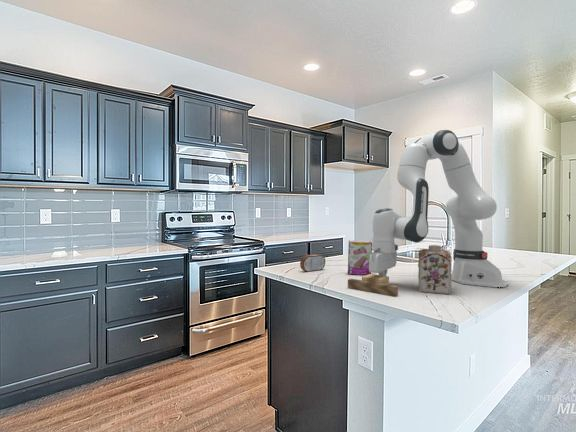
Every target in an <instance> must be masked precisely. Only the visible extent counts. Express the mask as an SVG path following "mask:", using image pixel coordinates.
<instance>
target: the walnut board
mask: <svg viewBox="0 0 576 432" xmlns="http://www.w3.org/2000/svg"><path fill="white" fill-rule="evenodd" d="M347 289H352V290H357V291H362V292H363V291H364V292H367V293H373V294H379V295H384V296H388V297H389V296H390V297H395V298H396V297H398V295H399V286H398V285H393V284H389V285H388V284H382V283H376V282H370V281H363V280H362V279H358V278H357V279H356V278H348V279H347Z"/></svg>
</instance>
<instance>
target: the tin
mask: <svg viewBox="0 0 576 432" xmlns="http://www.w3.org/2000/svg"><path fill="white" fill-rule="evenodd" d="M299 264H300V265H299V266H300V268H301V270H302V271H304V272H307V273H308V272H317V271H322V270H323V269H325V267H326V257H325V256H324V255H322V254H319V253H314V254H305V255H304V256H303V257H302V258H301V259H300V262H299Z"/></svg>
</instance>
